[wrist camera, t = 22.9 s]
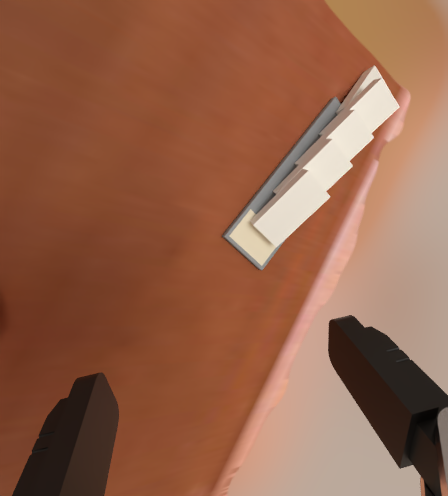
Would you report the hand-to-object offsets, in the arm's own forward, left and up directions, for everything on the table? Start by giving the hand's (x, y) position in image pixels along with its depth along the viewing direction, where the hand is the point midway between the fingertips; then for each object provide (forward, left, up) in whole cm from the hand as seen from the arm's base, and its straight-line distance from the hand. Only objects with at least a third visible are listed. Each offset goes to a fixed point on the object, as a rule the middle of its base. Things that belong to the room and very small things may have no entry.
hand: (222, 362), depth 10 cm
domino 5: (-3, +16, -26) cm, 31 cm away
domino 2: (-16, +27, -26) cm, 41 cm away
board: (-11, +23, -28) cm, 37 cm away
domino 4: (-7, +20, -26) cm, 33 cm away
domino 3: (-11, +23, -26) cm, 37 cm away
